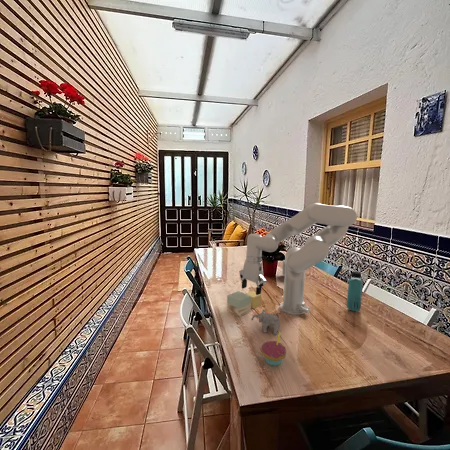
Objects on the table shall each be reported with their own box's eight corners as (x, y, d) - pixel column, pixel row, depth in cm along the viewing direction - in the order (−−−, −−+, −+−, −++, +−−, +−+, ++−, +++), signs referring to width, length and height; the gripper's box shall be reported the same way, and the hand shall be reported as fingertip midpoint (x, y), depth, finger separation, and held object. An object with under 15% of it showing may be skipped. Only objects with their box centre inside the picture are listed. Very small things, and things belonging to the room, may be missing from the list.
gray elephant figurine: (282, 336, 105) (283, 319, 104) (252, 336, 105) (253, 318, 104) (277, 324, 114) (278, 308, 113) (250, 324, 114) (251, 307, 113)
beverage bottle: (352, 315, 124) (356, 275, 121) (342, 308, 130) (346, 270, 127) (363, 313, 126) (367, 274, 123) (353, 307, 132) (357, 269, 129)
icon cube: (301, 278, 172) (302, 264, 171) (286, 278, 172) (287, 264, 170) (296, 273, 182) (296, 260, 181) (282, 273, 182) (283, 260, 180)
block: (260, 305, 133) (261, 294, 132) (253, 308, 129) (253, 297, 128) (252, 301, 137) (252, 290, 136) (244, 304, 133) (244, 293, 132)
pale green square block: (250, 303, 126) (250, 295, 125) (239, 308, 120) (239, 300, 120) (238, 298, 131) (238, 291, 131) (227, 303, 126) (227, 295, 125)
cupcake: (282, 354, 93) (283, 323, 92) (288, 371, 85) (290, 337, 83) (258, 354, 93) (259, 323, 91) (262, 371, 85) (264, 337, 83)
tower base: (250, 311, 126) (250, 304, 125) (239, 317, 121) (239, 309, 120) (238, 306, 132) (239, 298, 131) (227, 311, 126) (227, 303, 126)
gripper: (272, 261, 126) (269, 295, 128) (245, 253, 138) (243, 284, 141) (262, 264, 120) (259, 299, 123) (236, 255, 133) (233, 287, 136)
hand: (251, 291), depth 132 cm, fingers open, 9 cm apart
